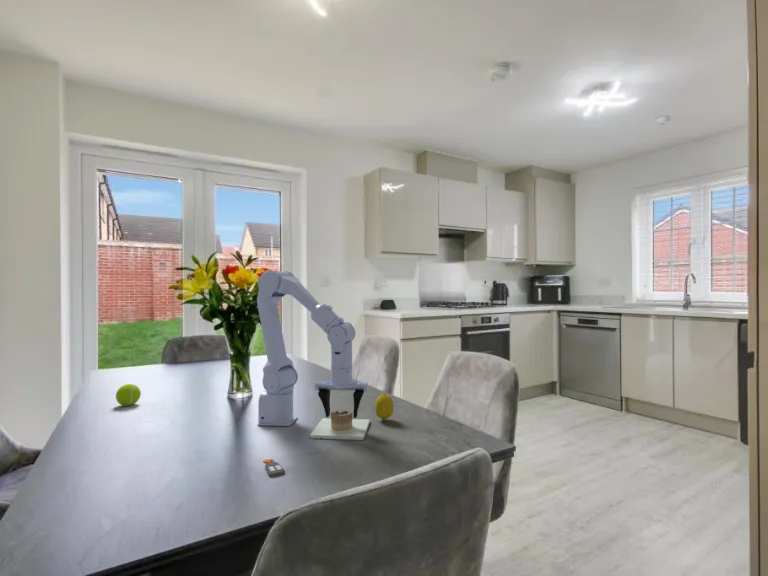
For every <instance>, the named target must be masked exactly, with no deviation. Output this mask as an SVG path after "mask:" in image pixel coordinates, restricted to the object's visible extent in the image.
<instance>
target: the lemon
mask: <svg viewBox="0 0 768 576" xmlns="http://www.w3.org/2000/svg"><path fill="white" fill-rule="evenodd" d="M374 412H375V414H376V416H377V417H378V418H380V419H381V420H382V421H386V420H387V419H389V418H390V417H391V416H392V415H393V413H394V403H393V399H392V398H391V396H390V395H388V394H386V393H382V394H380V395H379V396H378V397H377V398H376V399H375V403H374Z"/></svg>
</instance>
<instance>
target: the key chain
mask: <svg viewBox="0 0 768 576" xmlns="http://www.w3.org/2000/svg"><path fill="white" fill-rule="evenodd" d="M262 463H264V469H265V471H267V472H266V473H267V475H268V477H269V478H275V477H278V476H279V477H280V476H283V475H285V474H286V470H285V468H284V467H282V465H281V464H280V463H278V462H277V461H275V459H274V458H271V459H268V458H267V459H263V460H262Z"/></svg>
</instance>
